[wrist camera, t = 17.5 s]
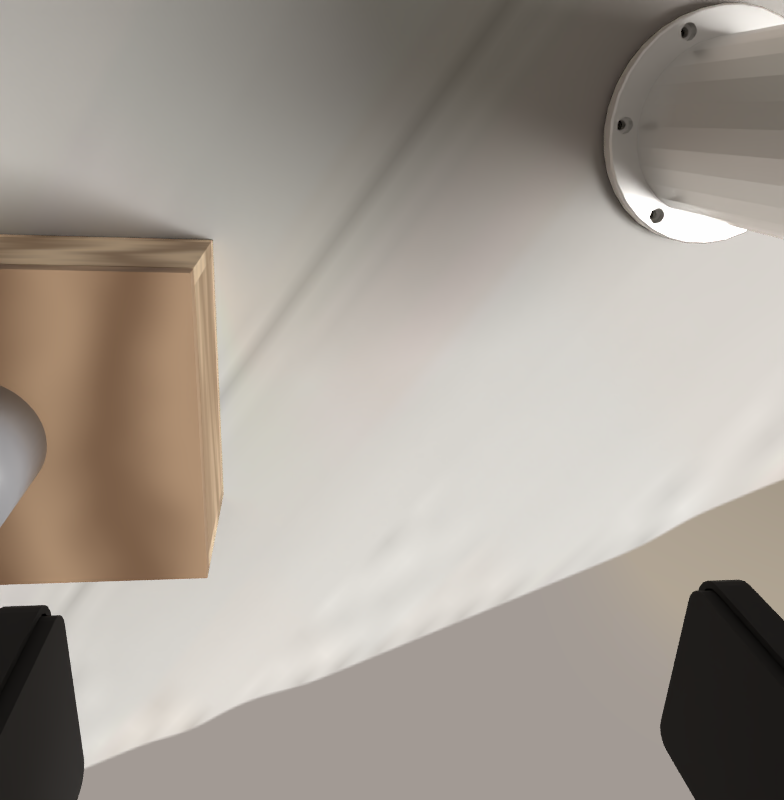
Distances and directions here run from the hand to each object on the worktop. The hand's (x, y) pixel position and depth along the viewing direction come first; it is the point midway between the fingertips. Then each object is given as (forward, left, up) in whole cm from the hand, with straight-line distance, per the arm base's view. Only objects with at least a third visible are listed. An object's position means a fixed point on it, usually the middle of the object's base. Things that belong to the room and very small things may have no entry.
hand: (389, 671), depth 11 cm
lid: (+16, +7, -25) cm, 31 cm away
